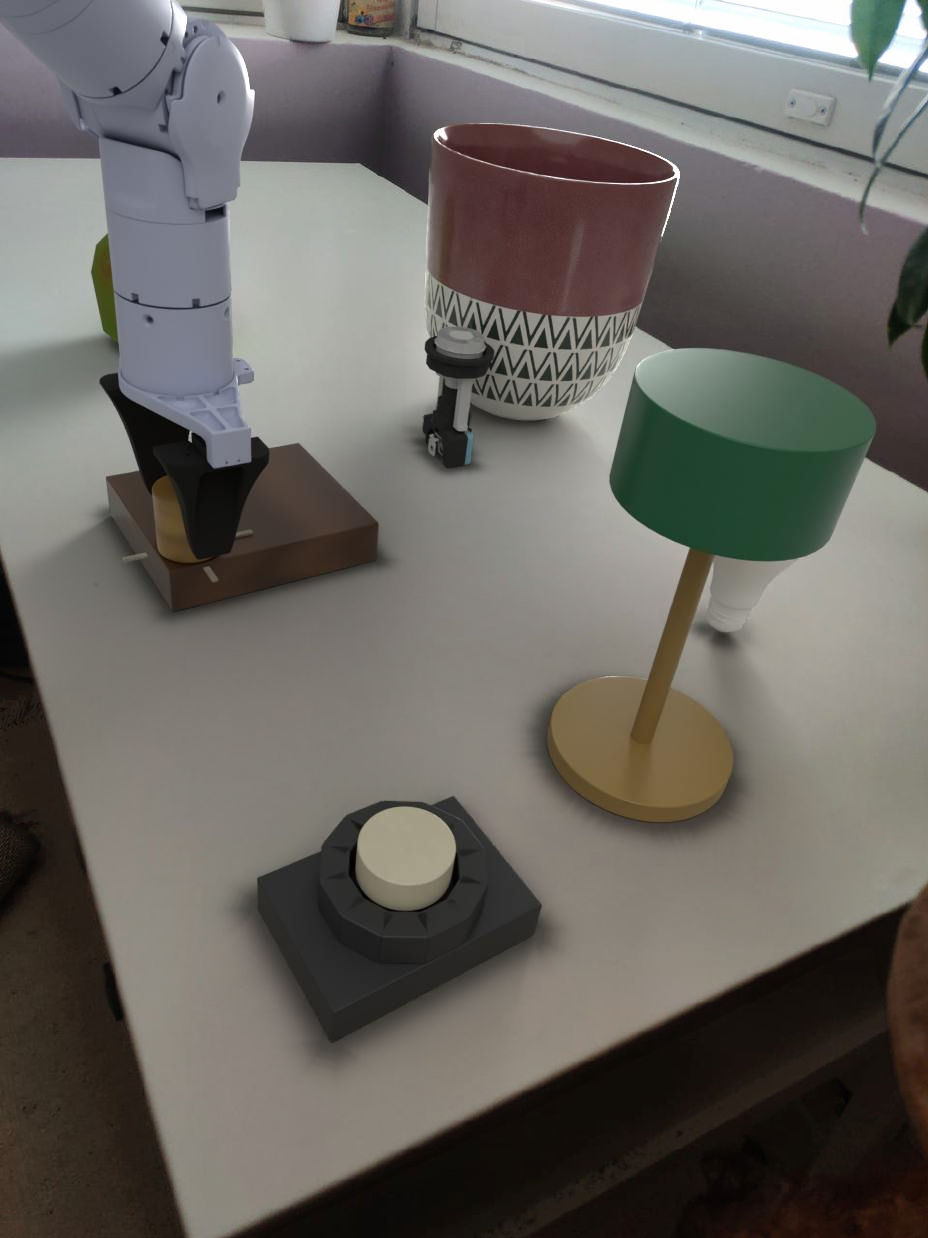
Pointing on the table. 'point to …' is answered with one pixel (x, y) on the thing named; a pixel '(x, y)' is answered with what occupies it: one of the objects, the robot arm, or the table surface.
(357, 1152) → the table surface
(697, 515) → the desk lamp
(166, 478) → the dimmer knob
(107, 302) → the apple
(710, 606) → the lightbulb
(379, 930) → the switch block
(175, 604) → the dimmer panel
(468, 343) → the push button
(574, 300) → the planter
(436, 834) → the button
